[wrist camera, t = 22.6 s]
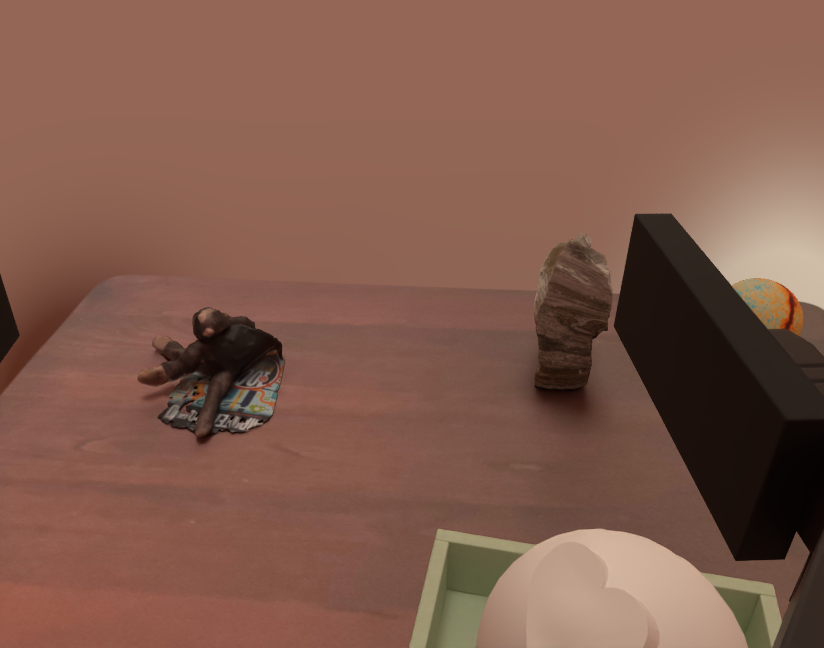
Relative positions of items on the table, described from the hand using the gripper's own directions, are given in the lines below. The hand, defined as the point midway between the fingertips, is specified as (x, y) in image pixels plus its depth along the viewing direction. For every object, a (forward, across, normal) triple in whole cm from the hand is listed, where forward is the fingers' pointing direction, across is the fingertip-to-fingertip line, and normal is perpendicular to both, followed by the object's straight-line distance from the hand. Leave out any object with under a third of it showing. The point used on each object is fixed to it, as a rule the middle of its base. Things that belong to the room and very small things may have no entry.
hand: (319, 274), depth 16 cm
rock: (+35, +17, -29) cm, 48 cm away
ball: (+38, +33, -29) cm, 58 cm away
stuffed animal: (+36, -12, -29) cm, 48 cm away
